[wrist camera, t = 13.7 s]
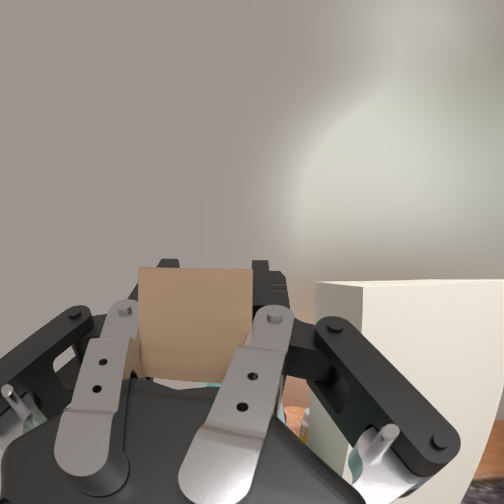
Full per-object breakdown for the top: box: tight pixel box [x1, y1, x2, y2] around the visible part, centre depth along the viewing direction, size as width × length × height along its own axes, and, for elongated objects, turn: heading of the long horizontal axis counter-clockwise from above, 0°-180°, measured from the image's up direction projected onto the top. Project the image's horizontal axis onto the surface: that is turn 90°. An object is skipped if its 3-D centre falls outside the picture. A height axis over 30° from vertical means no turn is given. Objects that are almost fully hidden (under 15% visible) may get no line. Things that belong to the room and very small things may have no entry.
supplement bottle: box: [300, 408, 310, 444], centre depth 45 cm, size 5×5×8 cm
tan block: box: [138, 267, 254, 383], centre depth 19 cm, size 22×4×4 cm, turn 179°
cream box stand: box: [306, 279, 504, 504], centre depth 18 cm, size 12×12×32 cm
